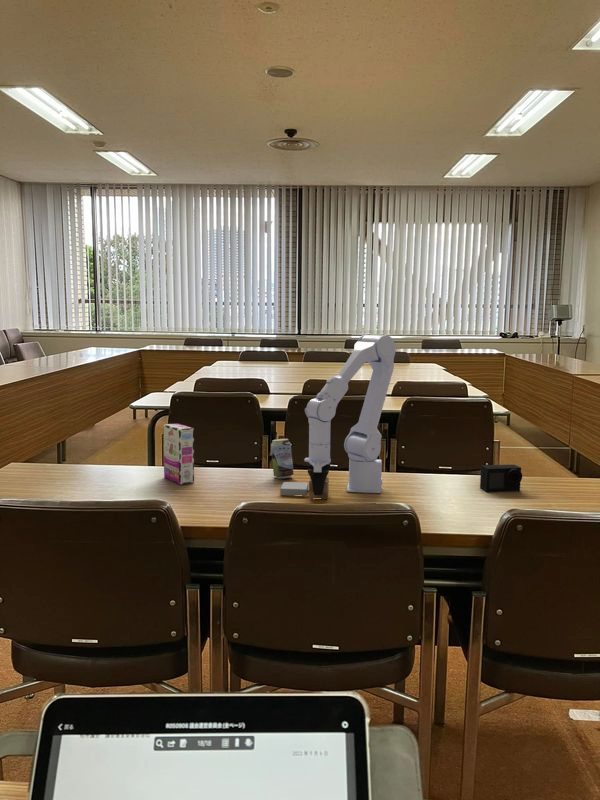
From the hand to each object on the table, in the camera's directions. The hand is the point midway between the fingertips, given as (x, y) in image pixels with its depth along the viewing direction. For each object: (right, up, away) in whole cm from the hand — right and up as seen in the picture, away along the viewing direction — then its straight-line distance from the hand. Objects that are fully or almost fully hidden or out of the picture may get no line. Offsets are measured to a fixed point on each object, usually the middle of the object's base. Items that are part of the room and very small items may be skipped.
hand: (318, 492), depth 176 cm
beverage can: (-11, +1, +21) cm, 23 cm away
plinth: (-7, -1, +4) cm, 8 cm away
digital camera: (+52, -1, +9) cm, 53 cm away
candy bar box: (-41, +1, +16) cm, 44 cm away
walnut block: (0, -1, 0) cm, 1 cm away
